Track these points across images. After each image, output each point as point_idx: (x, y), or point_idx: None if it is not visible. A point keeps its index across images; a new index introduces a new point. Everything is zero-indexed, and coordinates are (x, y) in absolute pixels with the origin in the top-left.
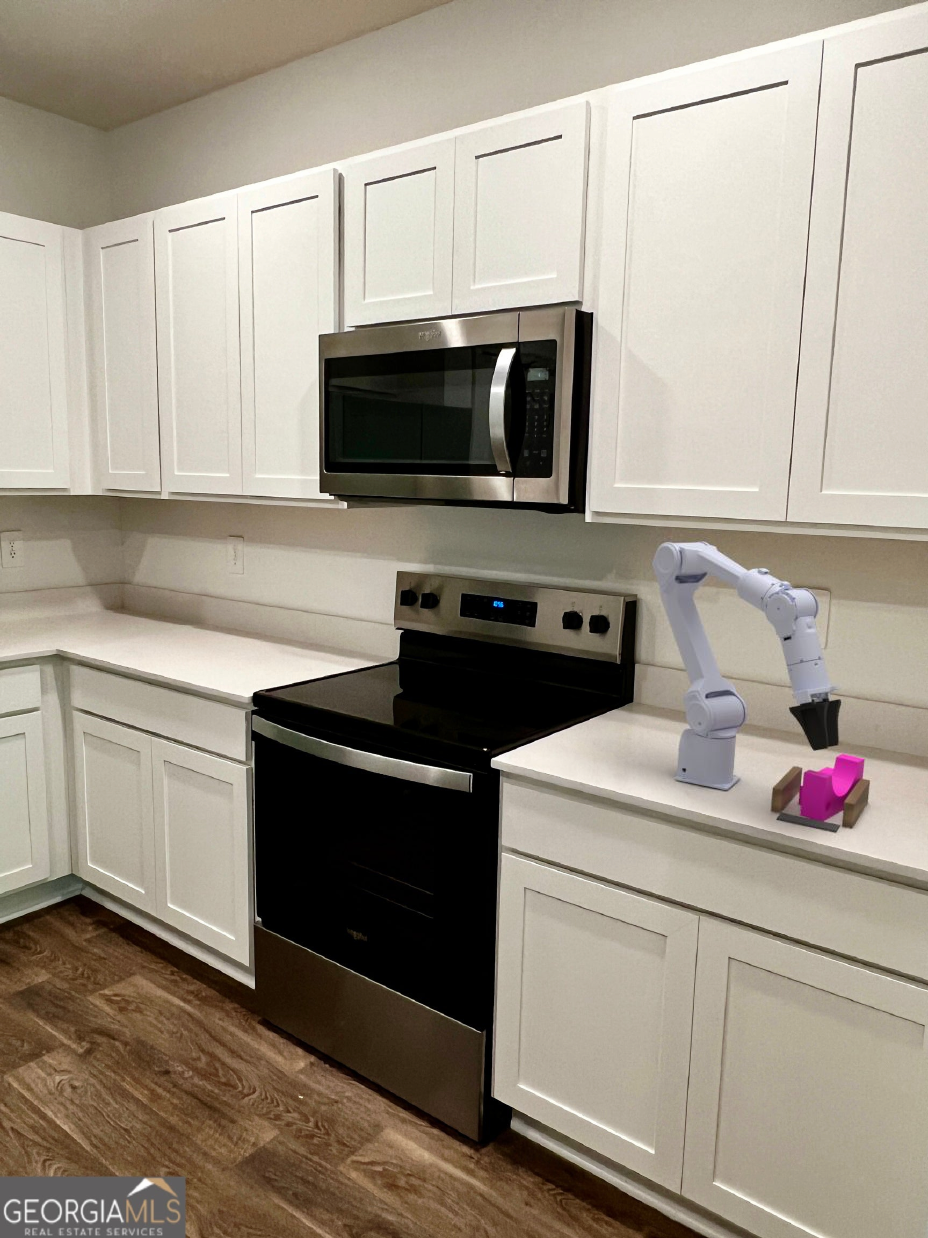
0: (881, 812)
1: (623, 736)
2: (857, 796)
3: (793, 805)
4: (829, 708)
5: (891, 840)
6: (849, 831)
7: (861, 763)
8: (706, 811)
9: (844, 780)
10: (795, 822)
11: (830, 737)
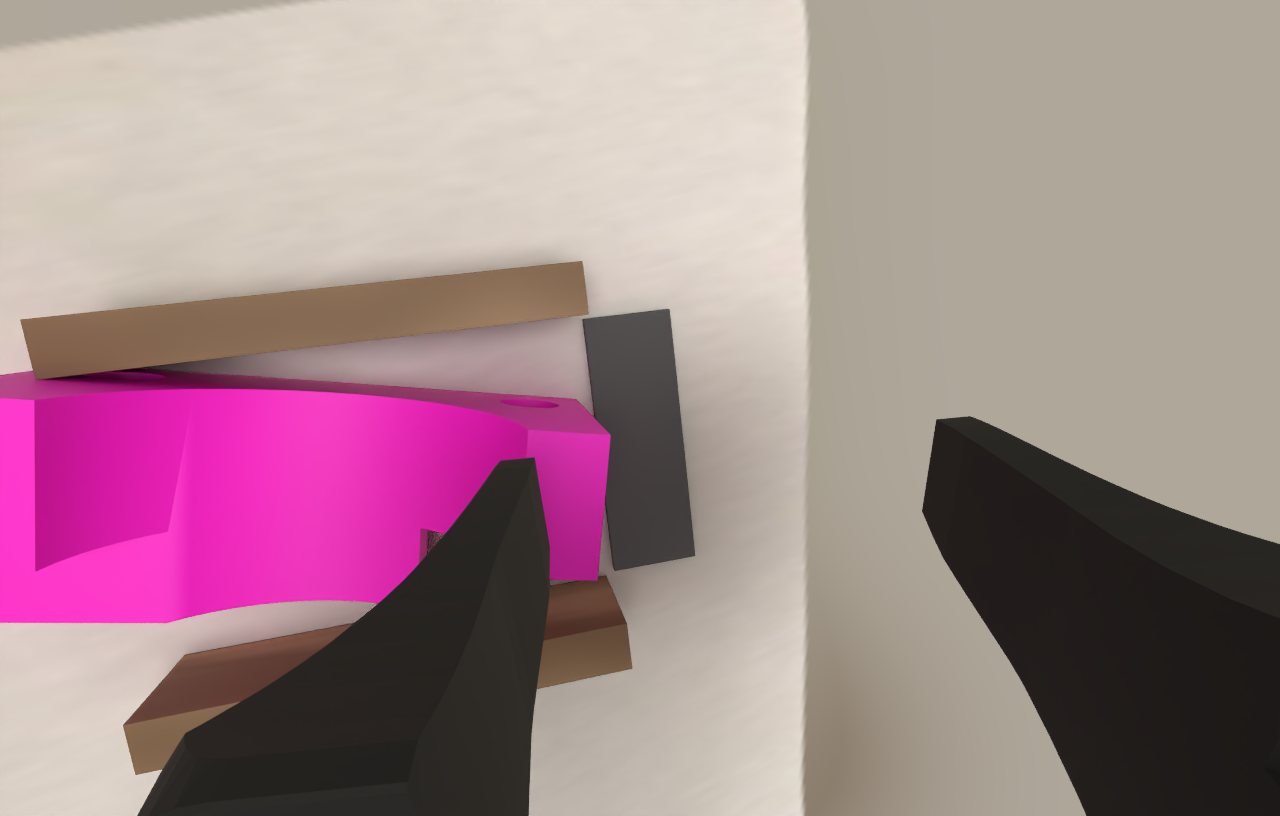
0: (206, 217)
1: None
2: (433, 286)
3: None
4: (469, 780)
5: (583, 83)
6: (606, 268)
7: None
8: (790, 783)
9: (183, 440)
10: (686, 478)
11: (533, 546)
